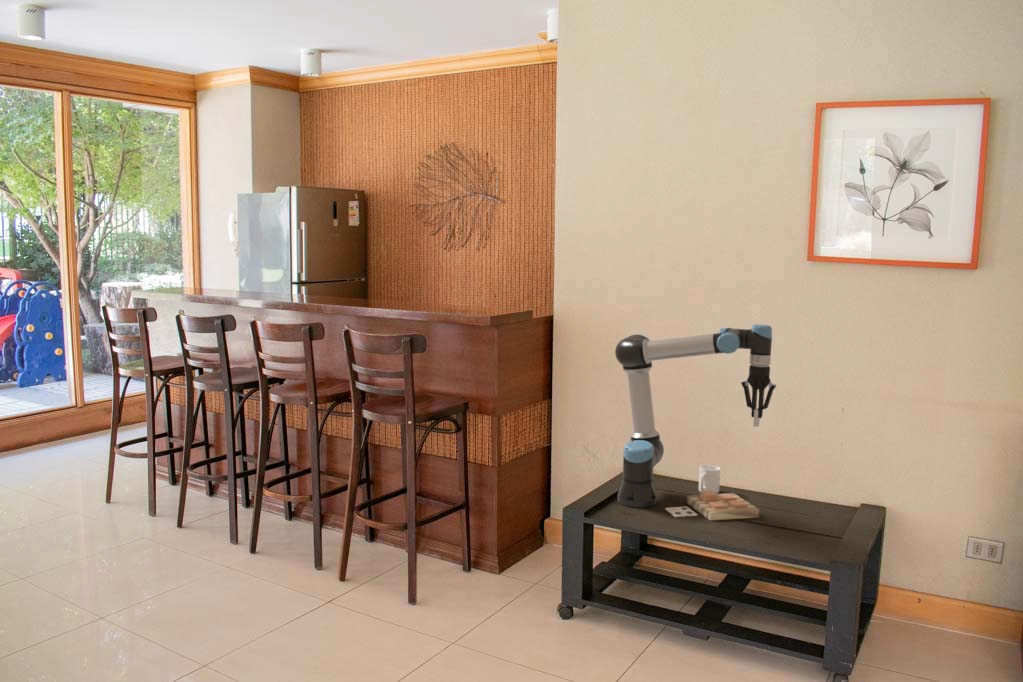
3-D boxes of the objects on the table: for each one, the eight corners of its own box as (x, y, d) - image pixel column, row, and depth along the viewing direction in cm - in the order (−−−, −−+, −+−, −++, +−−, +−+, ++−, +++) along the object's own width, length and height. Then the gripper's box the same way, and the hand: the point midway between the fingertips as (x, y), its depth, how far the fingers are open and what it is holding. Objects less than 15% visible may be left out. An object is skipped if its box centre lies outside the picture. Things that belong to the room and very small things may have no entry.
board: (686, 503, 324) (687, 495, 324) (733, 500, 329) (733, 493, 328) (710, 520, 305) (710, 512, 305) (759, 517, 310) (759, 509, 309)
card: (665, 509, 316) (665, 507, 316) (686, 508, 318) (687, 506, 318) (675, 517, 308) (675, 515, 308) (697, 515, 310) (697, 513, 310)
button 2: (708, 511, 314) (708, 502, 313) (720, 510, 315) (720, 501, 315) (714, 515, 309) (714, 506, 309) (726, 514, 310) (727, 505, 310)
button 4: (727, 509, 316) (728, 500, 315) (739, 509, 317) (739, 500, 316) (733, 514, 311) (734, 505, 310) (745, 513, 312) (746, 504, 312)
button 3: (717, 503, 323) (718, 494, 323) (729, 502, 325) (729, 493, 324) (723, 507, 319) (724, 498, 318) (735, 506, 320) (736, 497, 319)
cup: (722, 491, 340) (723, 467, 339) (710, 498, 331) (711, 473, 330) (703, 487, 345) (705, 463, 344) (691, 494, 336) (692, 469, 335)
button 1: (699, 500, 321) (699, 491, 321) (711, 499, 323) (711, 490, 322) (705, 504, 317) (705, 495, 316) (716, 503, 318) (717, 494, 317)
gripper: (739, 364, 314) (736, 425, 317) (774, 368, 307) (770, 430, 310) (745, 362, 320) (742, 421, 323) (779, 365, 313) (776, 426, 316)
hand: (756, 425), depth 317 cm, fingers closed
